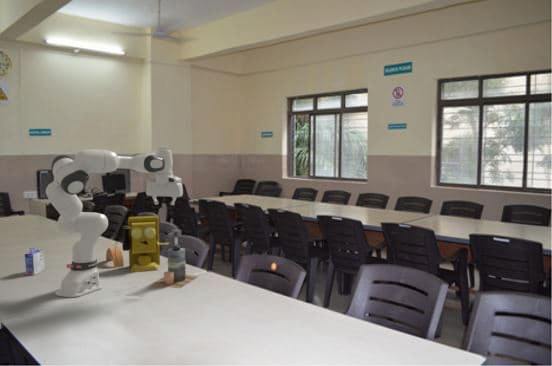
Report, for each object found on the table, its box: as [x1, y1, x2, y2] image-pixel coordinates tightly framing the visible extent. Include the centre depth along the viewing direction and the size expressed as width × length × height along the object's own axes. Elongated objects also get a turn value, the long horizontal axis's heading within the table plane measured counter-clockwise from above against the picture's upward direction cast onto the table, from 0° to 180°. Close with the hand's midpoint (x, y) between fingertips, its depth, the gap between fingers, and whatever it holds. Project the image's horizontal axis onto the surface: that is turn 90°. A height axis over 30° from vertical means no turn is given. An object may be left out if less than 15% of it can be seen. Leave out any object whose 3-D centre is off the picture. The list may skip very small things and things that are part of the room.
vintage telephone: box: [115, 215, 170, 273], centre depth 268 cm, size 31×14×30 cm, turn 105°
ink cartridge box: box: [24, 246, 45, 276], centre depth 259 cm, size 10×6×14 cm, turn 174°
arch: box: [105, 246, 124, 269], centre depth 280 cm, size 6×20×10 cm, turn 33°
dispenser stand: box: [149, 244, 200, 289], centre depth 239 cm, size 22×18×20 cm
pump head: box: [166, 229, 182, 246], centre depth 237 cm, size 10×4×8 cm, turn 164°
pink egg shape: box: [163, 270, 174, 285], centre depth 233 cm, size 5×5×6 cm
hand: (164, 204), depth 240 cm, fingers open, 8 cm apart
